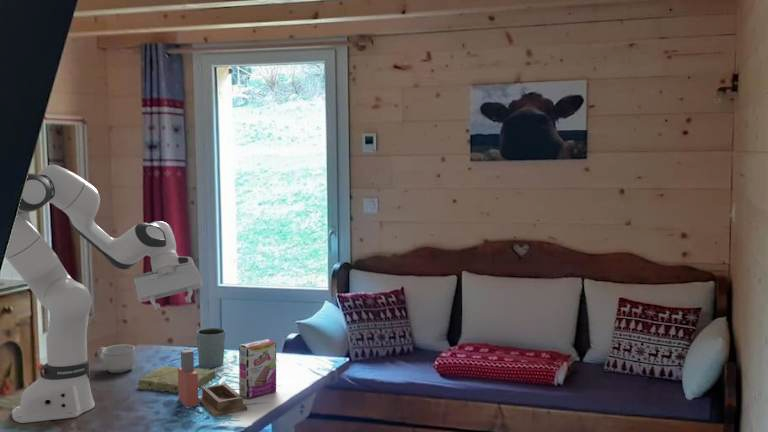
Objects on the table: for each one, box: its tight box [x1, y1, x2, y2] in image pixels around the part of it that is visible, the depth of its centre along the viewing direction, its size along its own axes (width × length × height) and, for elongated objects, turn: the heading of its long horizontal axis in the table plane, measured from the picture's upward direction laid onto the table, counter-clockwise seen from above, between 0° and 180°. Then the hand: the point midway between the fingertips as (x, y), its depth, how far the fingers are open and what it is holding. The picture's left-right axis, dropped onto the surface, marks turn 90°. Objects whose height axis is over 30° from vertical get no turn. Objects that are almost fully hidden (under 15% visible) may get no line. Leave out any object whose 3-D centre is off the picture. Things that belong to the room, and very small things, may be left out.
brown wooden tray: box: [198, 383, 248, 417], centre depth 229 cm, size 10×16×4 cm, turn 30°
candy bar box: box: [238, 338, 277, 400], centre depth 239 cm, size 11×5×16 cm, turn 134°
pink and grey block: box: [177, 348, 199, 408], centre depth 232 cm, size 4×9×16 cm, turn 30°
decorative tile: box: [137, 366, 217, 393], centre depth 252 cm, size 19×20×4 cm
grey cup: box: [196, 327, 226, 368], centre depth 273 cm, size 10×10×12 cm
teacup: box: [97, 343, 136, 374], centre depth 267 cm, size 14×11×8 cm
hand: (173, 306), depth 239 cm, fingers open, 8 cm apart
